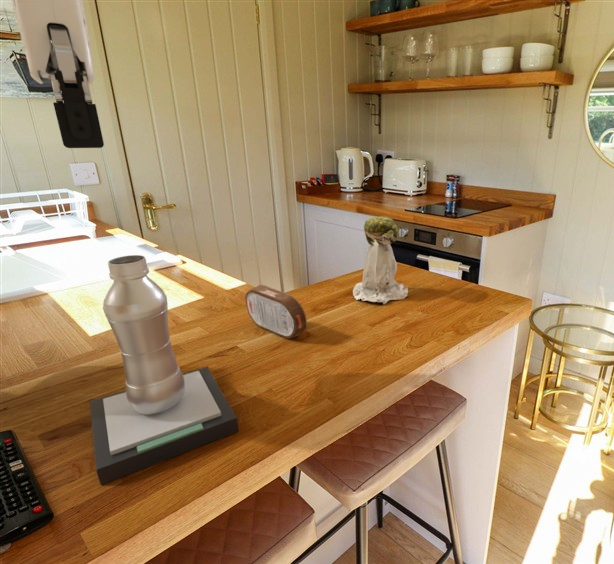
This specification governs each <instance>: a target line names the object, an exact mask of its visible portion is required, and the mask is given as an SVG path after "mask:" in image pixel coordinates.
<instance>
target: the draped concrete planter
mask: <svg viewBox="0 0 614 564" xmlns="http://www.w3.org/2000/svg"><path fill="white" fill-rule="evenodd" d="M398 227H399V228H400V227H401V226H400V225H399V226H397V224H396V223H395V221H394V219H393V218H390V217H388V216H381V215H379V216H378V215H376V216H373V217H369V218H368V219H365V222H364V225H363V230H364V232H365V238H366V241H367V243H368V245H369V246H368V248H367V250H366V255H365V260H364V267H363V272H362V281H361V282H358V283H356V284H355V285H354V286H353V289H352V295H353V297H354V299H355V300H356V301H358V300H359V301H360V299H361V301H362V302H365V301H368V302H372V303H376V302H377V303H382V305H385V304H387V303H388V302H389V301H393V300H394V301H397V300H399V301H400V300H404V299H405V298H406V297H408V293H409V287H408V285H404V283H399V281H395V276H396V274H397V270H398V264H397V261H396V259H395V255H394V251H393V248H392V246H391V244H393V243H395V242H396V241H398V238H399V228H398Z"/></svg>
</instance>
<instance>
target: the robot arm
mask: <svg viewBox="0 0 614 564" xmlns="http://www.w3.org/2000/svg"><path fill="white" fill-rule="evenodd" d="M83 1H84V0H11V3H12V7H13V10H14V15H15V18H16V22H17V26H18V30H19V34H20V38H21V42H22V46H23V50H24V54H25V58H26V62H27V66H28V70H29V75H30V77H31V78H32V79H33V80H34V81H36V82H37V83H38V84H40V85H44V79H50V81H51V85H52V90H53V94H54V95H53V96H54V98H55V102H52V103H53V108H54V112H55V116H56V120H57V125H58V129H59V132H60V136H61V141H62V144H63V146H64V147H65V148H67V149H102V148H103V147H105V142H104V138H103V134H102V128H101V123H100V120H99V119H100V118H99V113H98V109H97V105H96V103H93V99H92V98H93V97H92V94H91V90H90V85H91V84H93V82H94V80H95V76H94V64H93V53H92V47H91V41H90V34H89V27H88V23H87V17H86V13H85V12H86V11H85V7H84V2H83Z"/></svg>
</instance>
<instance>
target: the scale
mask: <svg viewBox="0 0 614 564" xmlns="http://www.w3.org/2000/svg"><path fill="white" fill-rule="evenodd" d="M182 374H183V377H184V379H185V392H184V395H183V397H182V398H181V400H180V401H179V402H178V403H177V404H176V405H175V406H173V407H172V408H170V409H168V410H166V411H163V412H160V413H155V414H141V413H139V412H137V411H135V410H134V409H132V408H131V406H130V404H129V402H128V400H127V398H126V390H122V391H120V392H116V393H111V394H108V395H106V396H102V397H98V398H96V399H92V400H89V405H90V406H89V408H90V418H91V429H92V440H93V450H94V451H93V453H94V463H95V471H96V474H97V478H98V481H99V485H100V486H103V485H105V484H108V483H110V482H112V481H114V480H119V479H120V478H123V477H125V476H128V475H131V474H133V473H136V472H139V471H141V470H144V469H146V468H149V467H151V466H154V465H157V464H159V463H162V462H163V461H166V460H170V459H172V458H175V457H177V456H179V455H182V454H184V453H187V452H190V451H192V450H194V449H198V448H199V447H202V446H205V445H207V444H210V443H212V442H215V441H218V440H220V439H223V438H226V437H228V436H230V435H232V434H235V433H238V432H239V423H238V418H237V415H236V414H235V412H234V410H233V409H232V406H231V405H230V403H229V401H228V399H227V397H226V396H225V395H224V393H223V391H222V389H221V388H220V386H219V384H218V382H217V380H216V379H215V377H214V375H213V374H212V372H211V370H210V369H209V366H205V367H201V368H198V369H194V370H191V371H188V372H184V373H182Z"/></svg>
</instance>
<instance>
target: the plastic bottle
mask: <svg viewBox="0 0 614 564" xmlns="http://www.w3.org/2000/svg"><path fill="white" fill-rule="evenodd" d="M107 266H108V270H109V274H108V275H109V279H111V280H113V283H112V284H111V286H110V288H108V291H107V292H106V295H105V297H104V298H103V304H102V309H103V313H104V316H105V318H106V320H107V323H108V324H109V326H110V328H111V330H112V332H113V335H114V337H115V339H116V343H117V346H118V348H119V351H120V354H121V358H122V364H123V371H124V377H125V386H124V387H125V389H124V390H125V391H126V398H127V400H128V402H129V404H130V406H131V408H132V409H134V410H135V411H137V412H139V413H141V414H155V413H160V412H163V411H166V410H168V409H170V408H172V407H173V406H175V405H176V404H177V403H178V402H179V401H180V400H181V398H182V397H183V395H184V392H185V379H184V377H183V374H184V373H183V372H182V370H181V368H180V366H179V365H178V361H177V359H176V356H175V352H174V349H173V347H172V340H171V333H170V327H169V311H168V310H169V309H168V306H169V305H168V304H169V303H168V298H167V297H168V296H167V294H166V293H165V291H164V290H163V288H162V287H161V286H160V285H158V283H156V282H155V281H154V280H152V278H150V277H149V276H148V275H149V273H150V268H149V267H148V263H147V258H146V256H144V255H142V254H141V255H139V254H132V255H123V256H118V257H115V258H111V259H110V260H108V262H107Z"/></svg>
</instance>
